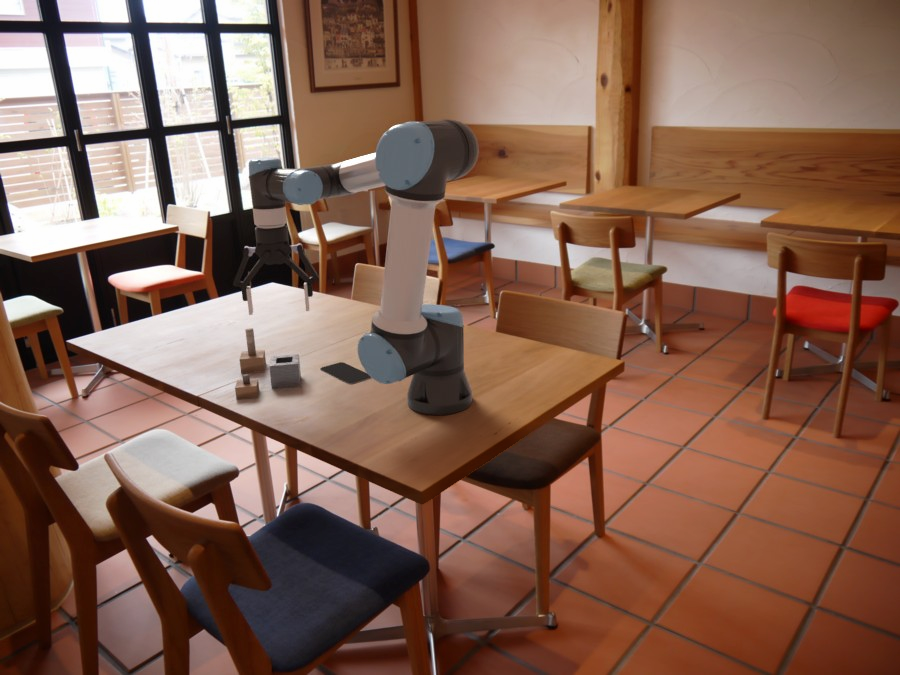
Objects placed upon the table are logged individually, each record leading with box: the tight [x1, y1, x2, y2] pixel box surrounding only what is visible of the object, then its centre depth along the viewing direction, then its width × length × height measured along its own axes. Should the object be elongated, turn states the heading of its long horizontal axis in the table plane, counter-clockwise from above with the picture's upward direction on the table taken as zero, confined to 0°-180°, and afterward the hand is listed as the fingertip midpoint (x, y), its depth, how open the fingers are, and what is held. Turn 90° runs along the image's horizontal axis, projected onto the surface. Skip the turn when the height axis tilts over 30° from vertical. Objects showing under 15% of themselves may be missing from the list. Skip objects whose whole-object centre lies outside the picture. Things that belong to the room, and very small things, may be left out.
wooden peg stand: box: [239, 327, 267, 375], centre depth 196 cm, size 6×6×11 cm
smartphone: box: [320, 361, 372, 385], centre depth 193 cm, size 7×1×15 cm
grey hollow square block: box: [268, 354, 302, 390], centre depth 187 cm, size 7×7×6 cm
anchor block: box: [234, 373, 260, 400], centre depth 180 cm, size 5×5×5 cm
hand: (279, 311), depth 182 cm, fingers open, 13 cm apart
